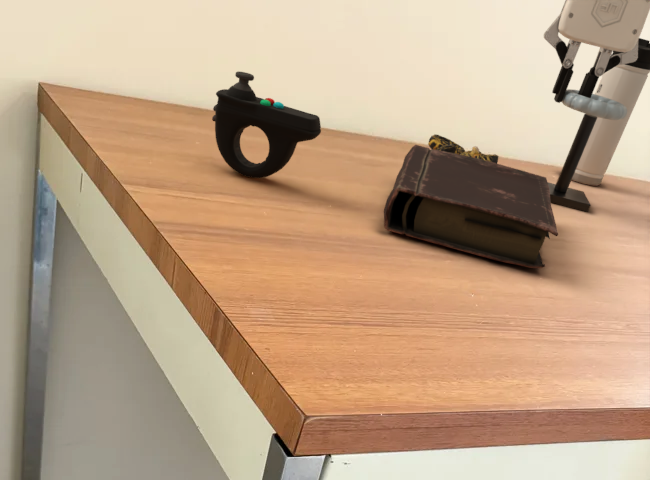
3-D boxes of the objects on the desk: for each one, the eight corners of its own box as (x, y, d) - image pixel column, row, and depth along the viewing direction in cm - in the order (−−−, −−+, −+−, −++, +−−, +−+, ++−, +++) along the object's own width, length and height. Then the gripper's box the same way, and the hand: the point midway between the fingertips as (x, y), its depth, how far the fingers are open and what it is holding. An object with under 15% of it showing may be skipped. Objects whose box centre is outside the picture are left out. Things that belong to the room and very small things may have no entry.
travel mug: (603, 183, 135) (665, 44, 123) (595, 188, 130) (657, 44, 118) (567, 171, 137) (624, 33, 125) (557, 175, 132) (615, 33, 120)
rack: (580, 198, 122) (615, 118, 116) (587, 212, 116) (624, 128, 109) (528, 184, 123) (559, 103, 116) (532, 197, 116) (565, 112, 110)
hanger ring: (616, 115, 116) (623, 101, 115) (627, 125, 109) (634, 111, 108) (555, 98, 116) (561, 84, 115) (562, 108, 109) (568, 93, 108)
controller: (213, 159, 98) (228, 65, 92) (310, 189, 96) (332, 95, 90) (199, 165, 95) (214, 68, 89) (300, 196, 93) (322, 99, 87)
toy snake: (439, 113, 126) (500, 136, 126) (426, 144, 129) (487, 166, 128) (431, 138, 112) (500, 163, 112) (417, 172, 115) (485, 197, 115)
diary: (377, 230, 88) (391, 182, 85) (397, 180, 108) (409, 139, 105) (548, 278, 87) (568, 230, 84) (536, 218, 107) (553, 178, 104)
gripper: (572, -77, 99) (511, 92, 110) (703, -44, 98) (629, 123, 109) (565, -75, 105) (508, 85, 116) (689, -44, 104) (620, 114, 115)
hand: (568, 102), depth 112 cm, fingers closed on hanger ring, 2 cm apart
